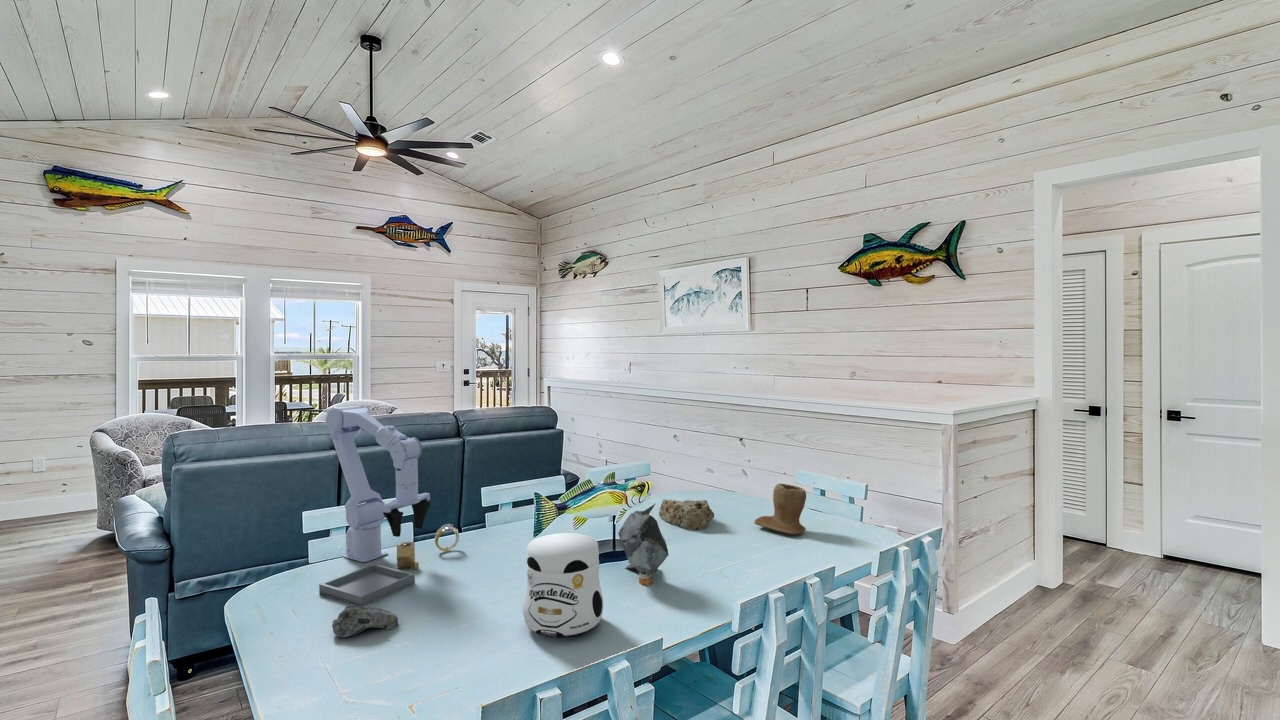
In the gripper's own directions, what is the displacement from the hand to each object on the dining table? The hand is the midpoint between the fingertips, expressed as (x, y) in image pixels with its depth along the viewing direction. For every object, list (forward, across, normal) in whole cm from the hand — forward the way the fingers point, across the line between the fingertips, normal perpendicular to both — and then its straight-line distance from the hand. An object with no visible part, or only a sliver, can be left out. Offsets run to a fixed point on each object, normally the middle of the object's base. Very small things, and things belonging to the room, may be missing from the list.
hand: (407, 532), depth 167 cm
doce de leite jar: (+10, -10, -58) cm, 60 cm away
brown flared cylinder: (+10, +78, -84) cm, 115 cm away
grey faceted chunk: (+10, +21, -62) cm, 66 cm away
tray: (+10, -16, -3) cm, 18 cm away
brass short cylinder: (+10, 0, 0) cm, 10 cm away
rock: (+10, +72, -53) cm, 90 cm away
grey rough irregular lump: (+10, -30, -21) cm, 38 cm away
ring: (+10, +14, -1) cm, 17 cm away
